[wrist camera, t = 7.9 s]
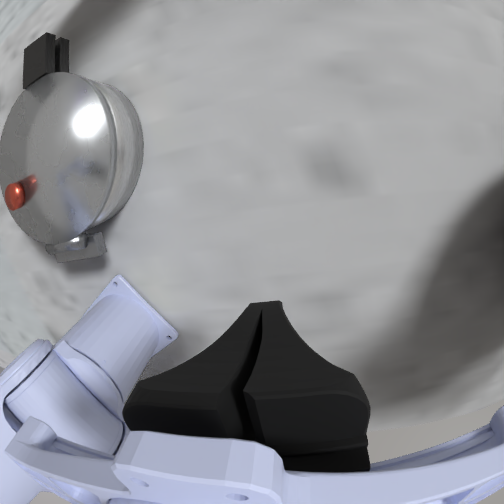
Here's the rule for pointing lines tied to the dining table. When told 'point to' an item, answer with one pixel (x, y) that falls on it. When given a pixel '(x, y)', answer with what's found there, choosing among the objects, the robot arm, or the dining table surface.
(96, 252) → the cooker pot
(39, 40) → the cooker lid
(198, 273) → the dining table surface
